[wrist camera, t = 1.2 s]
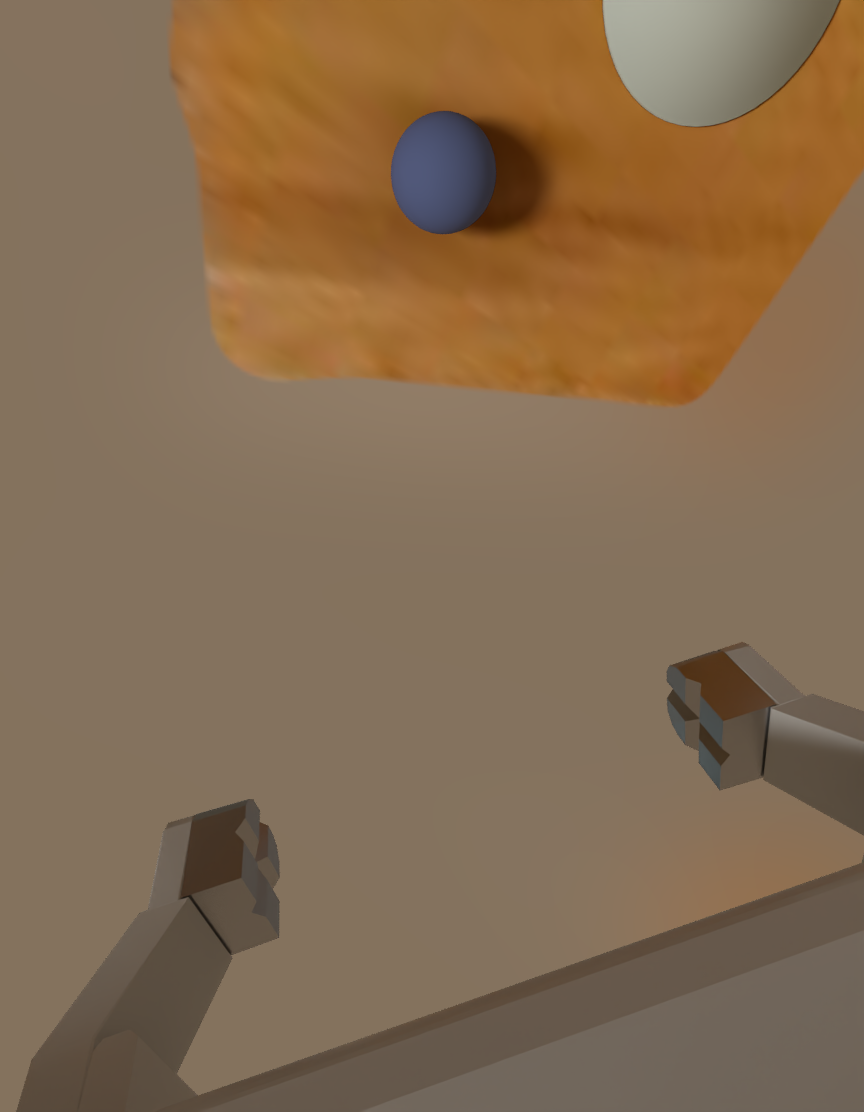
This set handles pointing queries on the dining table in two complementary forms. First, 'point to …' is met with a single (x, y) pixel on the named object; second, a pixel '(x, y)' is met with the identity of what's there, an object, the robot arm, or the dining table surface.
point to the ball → (443, 172)
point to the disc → (710, 52)
